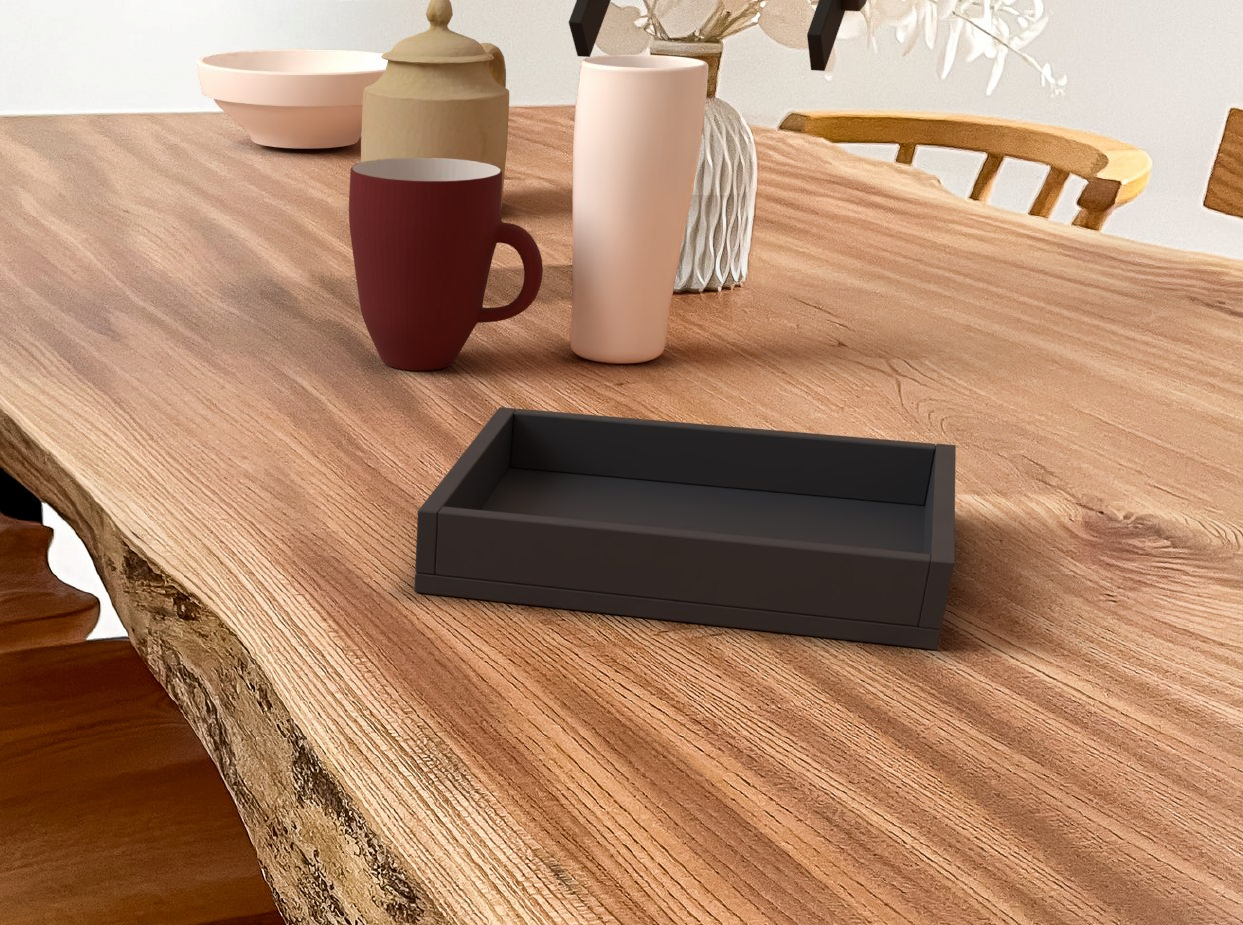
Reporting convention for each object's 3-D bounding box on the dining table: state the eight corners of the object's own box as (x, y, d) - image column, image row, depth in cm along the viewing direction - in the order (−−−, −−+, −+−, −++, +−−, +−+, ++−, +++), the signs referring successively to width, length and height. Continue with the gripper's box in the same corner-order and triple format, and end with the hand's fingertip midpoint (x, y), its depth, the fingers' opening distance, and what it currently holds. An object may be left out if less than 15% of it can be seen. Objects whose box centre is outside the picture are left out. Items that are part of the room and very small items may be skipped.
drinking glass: (649, 375, 103) (682, 71, 95) (535, 359, 106) (557, 63, 98) (695, 350, 108) (729, 59, 100) (585, 335, 111) (610, 51, 103)
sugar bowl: (365, 187, 155) (370, -20, 147) (500, 189, 154) (514, -19, 146) (356, 220, 142) (361, -5, 134) (504, 223, 141) (518, -3, 134)
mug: (539, 350, 108) (554, 161, 102) (531, 386, 101) (546, 185, 96) (355, 342, 109) (360, 155, 104) (335, 376, 102) (339, 178, 97)
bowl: (343, 170, 162) (345, 78, 159) (156, 151, 171) (153, 63, 167) (449, 141, 176) (453, 57, 173) (271, 125, 185) (271, 44, 182)
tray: (941, 521, 82) (955, 444, 80) (937, 650, 69) (954, 563, 67) (494, 479, 87) (499, 406, 85) (413, 592, 74) (417, 509, 72)
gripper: (1030, -212, 107) (924, 107, 104) (611, -212, 118) (502, 79, 114) (1034, -331, 101) (920, 6, 97) (589, -320, 111) (472, -14, 107)
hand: (694, 47), depth 106 cm, fingers open, 13 cm apart
